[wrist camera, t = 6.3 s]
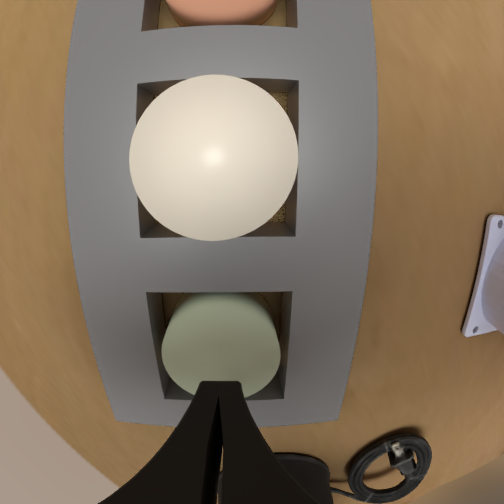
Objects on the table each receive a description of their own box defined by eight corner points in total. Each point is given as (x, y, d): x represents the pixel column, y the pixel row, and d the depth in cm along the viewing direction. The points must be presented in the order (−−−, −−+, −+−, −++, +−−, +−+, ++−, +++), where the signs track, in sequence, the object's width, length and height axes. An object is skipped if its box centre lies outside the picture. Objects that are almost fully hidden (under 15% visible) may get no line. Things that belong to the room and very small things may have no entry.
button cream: (284, 93, 11) (298, 76, 8) (282, 221, 12) (295, 240, 10) (152, 96, 11) (130, 81, 8) (154, 222, 12) (133, 241, 9)
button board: (340, -60, 10) (354, -84, 7) (327, 391, 17) (337, 419, 15) (115, -57, 9) (101, -80, 6) (126, 392, 17) (116, 420, 14)
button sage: (274, 278, 15) (283, 305, 12) (271, 364, 16) (277, 399, 14) (167, 279, 14) (154, 306, 12) (177, 364, 16) (169, 399, 13)
